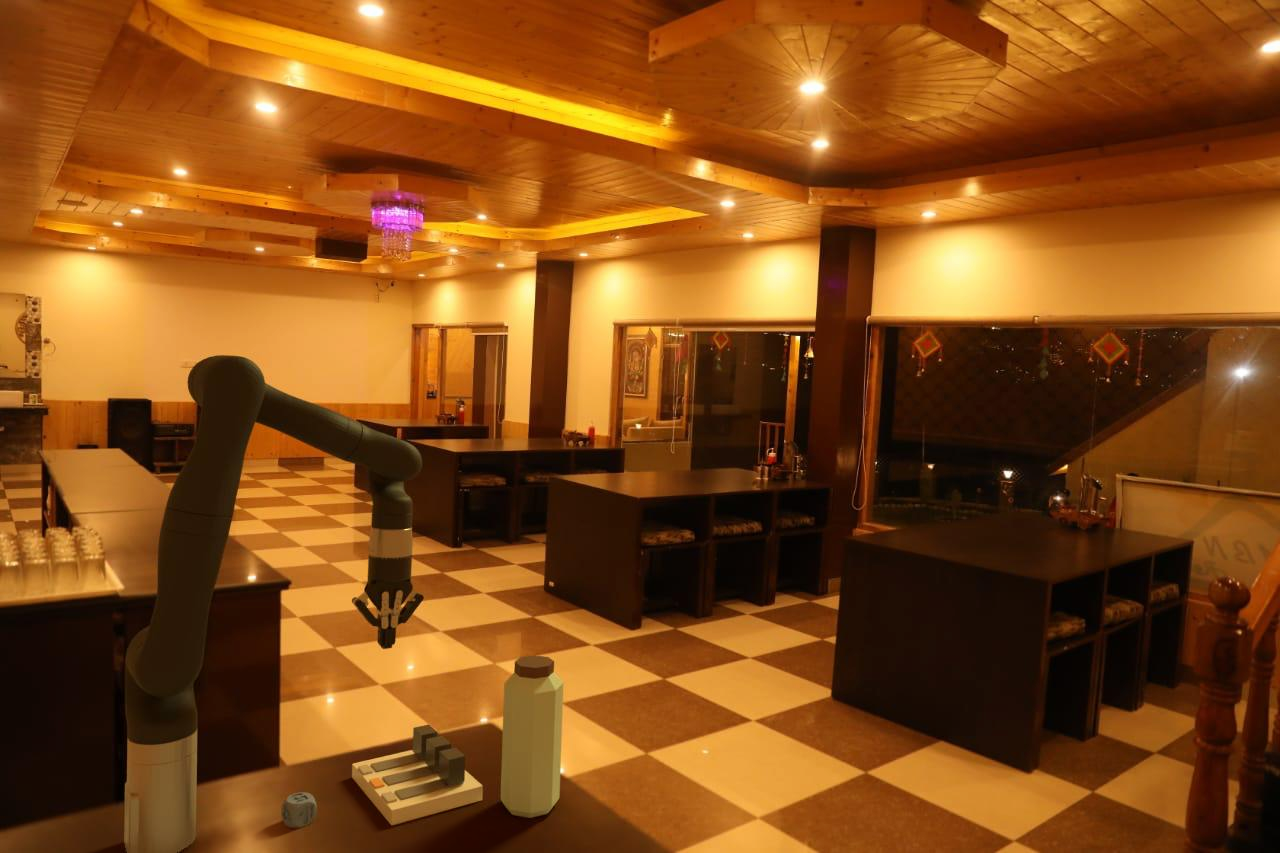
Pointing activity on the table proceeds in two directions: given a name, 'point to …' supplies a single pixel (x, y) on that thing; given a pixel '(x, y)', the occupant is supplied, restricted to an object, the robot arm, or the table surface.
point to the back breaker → (422, 739)
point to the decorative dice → (298, 810)
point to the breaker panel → (411, 787)
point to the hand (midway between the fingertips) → (386, 647)
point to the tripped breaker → (435, 751)
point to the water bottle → (531, 737)
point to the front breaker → (451, 766)
